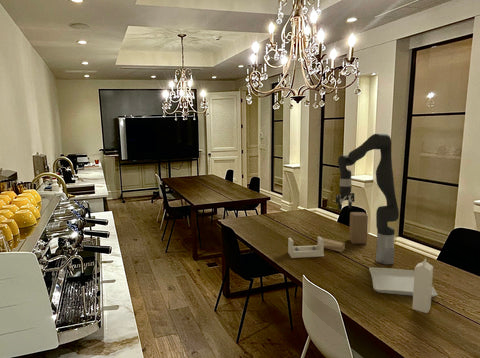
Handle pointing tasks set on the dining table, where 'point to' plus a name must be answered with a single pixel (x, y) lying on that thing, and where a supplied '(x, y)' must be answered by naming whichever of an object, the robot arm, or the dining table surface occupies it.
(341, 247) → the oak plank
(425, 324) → the dining table surface
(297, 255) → the peg cradle
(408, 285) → the square plate
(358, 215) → the wooden block
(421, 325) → the dining table surface
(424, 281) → the milk
